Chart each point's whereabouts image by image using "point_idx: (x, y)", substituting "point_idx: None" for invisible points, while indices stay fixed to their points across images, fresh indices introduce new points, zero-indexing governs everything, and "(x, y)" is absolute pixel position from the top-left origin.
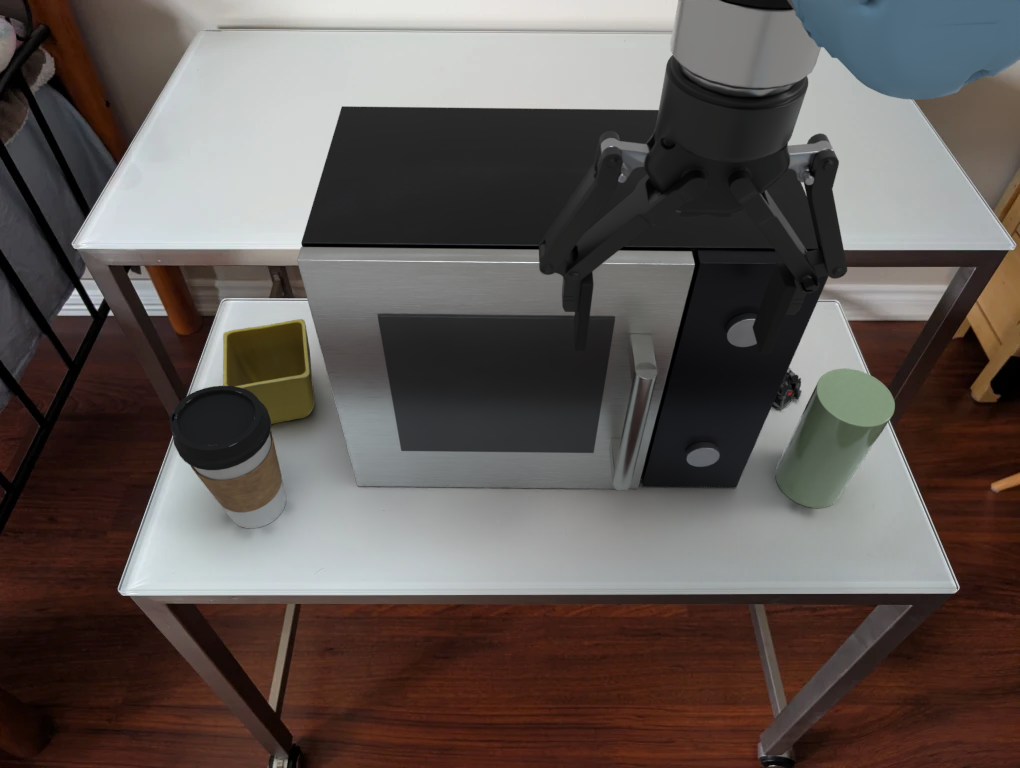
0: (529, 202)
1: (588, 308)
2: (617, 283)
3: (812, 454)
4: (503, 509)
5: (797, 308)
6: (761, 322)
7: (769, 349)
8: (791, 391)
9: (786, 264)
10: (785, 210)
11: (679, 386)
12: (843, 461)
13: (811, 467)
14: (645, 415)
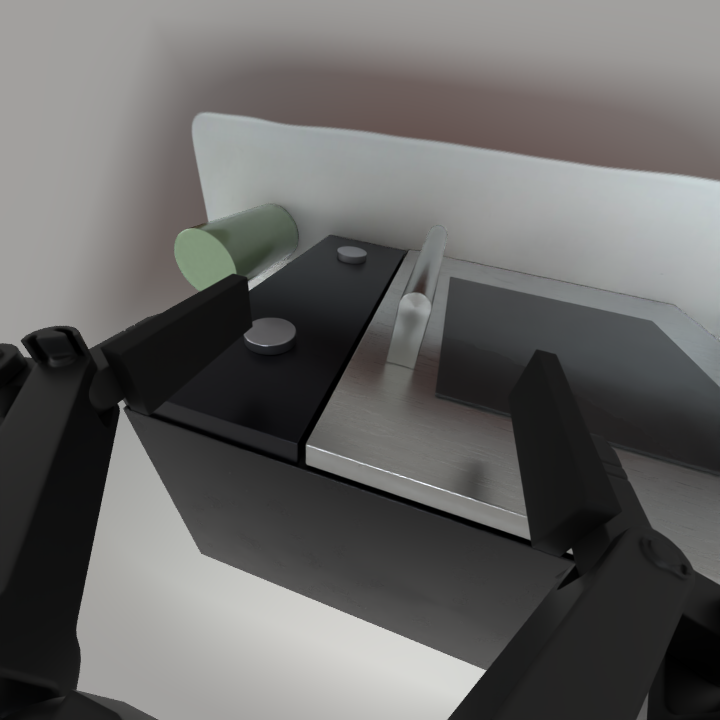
0: (518, 601)
1: (570, 432)
2: (433, 447)
3: (259, 232)
4: (538, 252)
5: (148, 319)
6: (229, 322)
7: (229, 277)
8: None
9: (68, 406)
10: (180, 470)
11: (361, 305)
12: (235, 217)
13: (264, 225)
14: (419, 264)
